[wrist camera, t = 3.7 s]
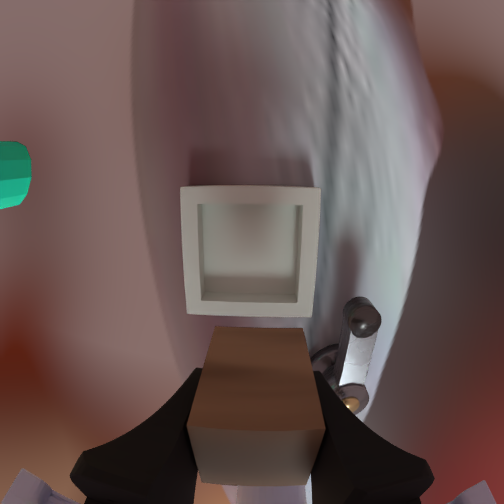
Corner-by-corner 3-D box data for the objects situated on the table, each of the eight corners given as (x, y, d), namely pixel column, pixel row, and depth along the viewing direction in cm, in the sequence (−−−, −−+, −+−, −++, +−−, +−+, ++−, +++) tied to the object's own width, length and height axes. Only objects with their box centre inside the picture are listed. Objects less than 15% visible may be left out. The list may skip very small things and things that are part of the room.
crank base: (355, 396, 22) (366, 427, 18) (243, 400, 22) (240, 433, 18) (370, 341, 20) (387, 372, 16) (243, 344, 20) (239, 378, 17)
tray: (307, 303, 19) (311, 317, 18) (193, 301, 20) (187, 313, 18) (314, 187, 17) (320, 188, 15) (188, 185, 18) (180, 186, 16)
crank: (353, 390, 20) (364, 418, 17) (316, 393, 20) (322, 423, 17) (377, 290, 18) (396, 312, 14) (332, 291, 18) (346, 314, 15)
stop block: (294, 390, 14) (306, 484, 8) (219, 388, 14) (201, 482, 8) (302, 328, 13) (325, 428, 7) (215, 326, 13) (186, 425, 7)
